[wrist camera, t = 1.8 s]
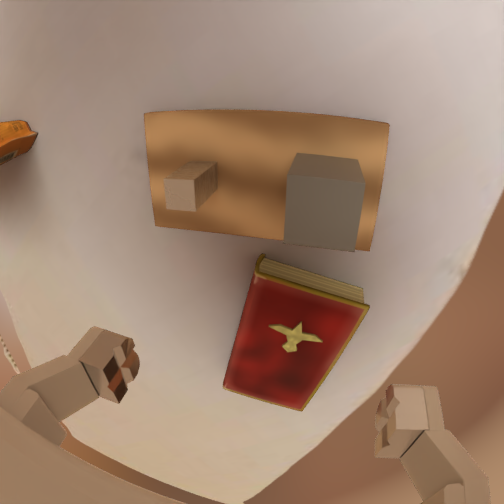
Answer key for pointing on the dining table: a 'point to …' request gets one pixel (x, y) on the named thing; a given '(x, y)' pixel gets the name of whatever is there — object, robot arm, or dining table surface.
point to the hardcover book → (291, 333)
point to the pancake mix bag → (15, 139)
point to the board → (257, 164)
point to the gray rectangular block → (323, 202)
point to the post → (191, 185)
